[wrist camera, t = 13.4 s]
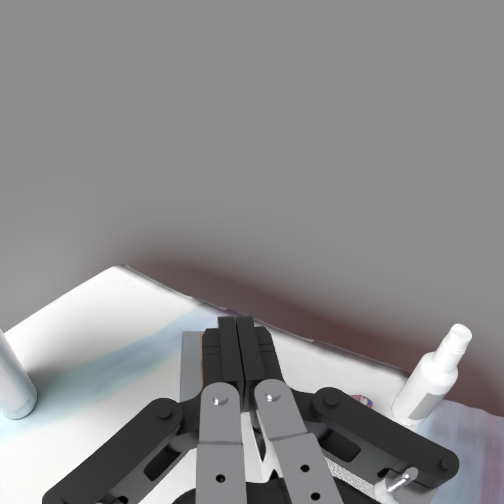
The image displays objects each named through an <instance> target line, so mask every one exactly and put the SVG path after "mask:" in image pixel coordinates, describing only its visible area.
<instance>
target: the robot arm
mask: <svg viewBox="0 0 504 504" xmlns="http://www.w3.org/2000/svg"><path fill="white" fill-rule="evenodd" d="M202 368H203V387H202V389H201V391H200V393H199V394H198V395H197V396H195V397H194V398H192V399H190V400H187V401H183V402H180V403H177V402H176V401H174V400H172V399H169V398H159V399H155V400H153V401H152V402H150V403H149V404H148V405H147V406H146V407H145V408H144V409H143V410H141V411H140V412H139V413H138V414H137V415H136V416H135V417H134V418H133V419H131V420H130V421H129V422H128V423H127V424H126V425H125V426H124V427H123V428H121V429H120V430H119V431H118V432H117V433H116V434H115V435H114V436H112V437H111V438H110V439H109V440H108V441H107V442H106V443H104V444H103V445H102V446H101V447H100V448H99V449H98V450H96V451H95V452H94V453H93V454H92V455H91V456H89V457H88V458H87V459H86V460H85V461H84V462H82V463H81V464H80V465H79V466H78V467H76V468H75V469H74V470H73V471H72V472H70V473H69V474H68V475H67V476H66V477H64V478H63V479H62V480H61V481H59V482H58V483H57V484H56V485H55V486H53V487H52V488H51V489H50V490H48V491H47V492H46V493H45V494H44V496H43V498H42V504H138V503H139V502H140V501H141V500H142V499H143V498H144V497H145V496H146V495H147V494H148V493H149V492H150V491H151V490H152V489H153V488H154V487H155V486H156V485H157V484H158V483H159V482H160V481H161V480H162V479H163V478H164V477H165V476H166V475H167V474H168V473H169V472H170V471H171V470H172V469H173V468H174V467H175V466H176V465H177V463H178V462H179V461H180V460H181V459H182V458H183V457H184V456H185V455H186V454H187V453H188V451H189V450H191V449H194V448H197V465H196V488H194V489H191V490H189V491H187V492H185V493H184V494H182V495H181V496H179V497H178V498H177V499H176V500H175V501H174V502H173V503H172V504H381V503H379V502H378V501H376V500H374V499H372V498H371V497H369V496H367V495H366V494H364V493H362V492H361V491H359V490H358V489H356V488H354V487H353V486H351V485H350V484H348V483H346V482H345V481H343V480H341V479H339V478H337V477H334V476H332V475H331V472H330V470H329V467H328V465H327V463H326V460H325V458H324V456H325V457H327V458H328V459H330V460H332V461H333V462H335V463H336V464H338V465H340V466H341V467H343V468H345V469H346V470H348V471H350V472H351V473H353V474H355V475H356V476H358V477H360V478H362V479H363V480H365V481H367V482H369V483H371V484H372V485H374V494H375V497H376V498H377V499H378V500H379V501H381V502H382V503H383V504H430V503H431V501H432V499H433V497H434V495H435V493H436V491H437V489H438V487H439V486H440V485H442V484H443V483H445V482H447V481H448V480H450V479H451V478H453V477H454V476H455V475H456V474H457V472H458V469H459V460H458V457H457V456H456V454H455V453H454V452H452V451H450V450H448V449H446V448H444V447H442V446H440V445H438V444H436V443H434V442H432V441H430V440H428V439H426V438H424V437H422V436H420V435H418V434H416V433H415V432H413V431H411V430H409V429H407V428H405V427H403V426H401V425H400V424H398V423H396V422H394V421H392V420H391V419H389V418H387V417H385V416H383V415H382V414H380V413H378V412H376V411H375V410H373V409H371V408H369V407H368V406H366V405H364V404H362V403H361V402H359V401H357V400H356V399H354V398H352V397H351V396H349V395H347V394H346V393H344V392H342V391H341V390H339V389H336V388H333V387H325V388H322V389H320V390H318V391H317V392H316V393H315V394H313V393H305V392H299V391H296V390H294V389H292V388H290V387H289V386H288V385H287V384H286V383H285V381H284V379H283V376H282V373H281V369H280V366H279V362H278V358H277V355H276V352H275V347H274V345H273V340H272V337H271V334H270V333H269V331H268V330H267V329H266V328H265V327H264V326H261V327H254V322H253V318H252V316H235V318H234V316H224V317H218V328H210V329H206V330H205V332H204V334H203V336H202ZM36 401H37V390H36V388H35V385H34V384H33V383H32V381H31V380H30V378H29V377H28V375H27V373H26V372H25V370H24V369H23V367H22V365H21V364H20V362H19V360H18V359H17V357H16V355H15V354H14V352H13V350H12V349H11V347H10V345H9V343H8V341H7V340H6V338H5V336H4V334H3V332H2V330H1V328H0V412H1V413H2V414H3V415H4V416H6V417H7V418H10V419H20V418H23V417H25V416H26V415H28V414H29V413H30V412H31V411H32V409H33V408H34V406H35V404H36ZM242 407H243V412H249V413H250V419H251V421H250V429H251V433H252V437H253V440H254V444H255V448H256V451H257V455H258V459H259V462H260V468H261V477H262V481H263V483H252V482H245V467H244V451H243V443H242V436H241V417H240V412H242Z"/></svg>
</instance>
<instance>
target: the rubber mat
mask: <svg viewBox="0 0 504 504" xmlns="http://www.w3.org/2000/svg"><path fill="white" fill-rule="evenodd" d="M204 332H205V331H201V332H183V337H182V356H181V379H180V402H183V401H187V400H190V399H192V398H194V397H195V396H197V395H198V394H199V393H200V391H201V352H200V333H204Z"/></svg>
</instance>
